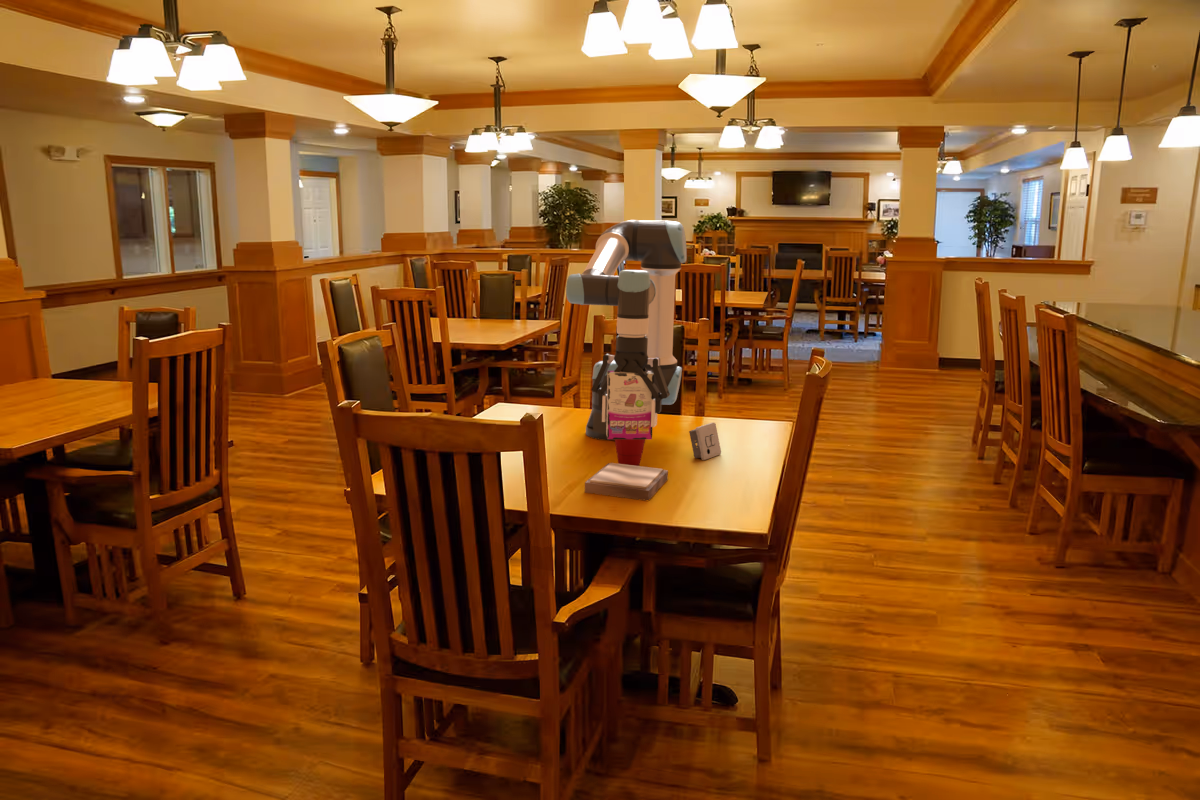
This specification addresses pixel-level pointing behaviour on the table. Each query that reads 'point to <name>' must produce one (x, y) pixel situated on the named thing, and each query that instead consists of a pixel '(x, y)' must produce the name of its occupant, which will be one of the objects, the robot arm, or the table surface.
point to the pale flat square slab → (627, 481)
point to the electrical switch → (705, 441)
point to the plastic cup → (629, 451)
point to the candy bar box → (628, 406)
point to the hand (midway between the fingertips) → (629, 423)
